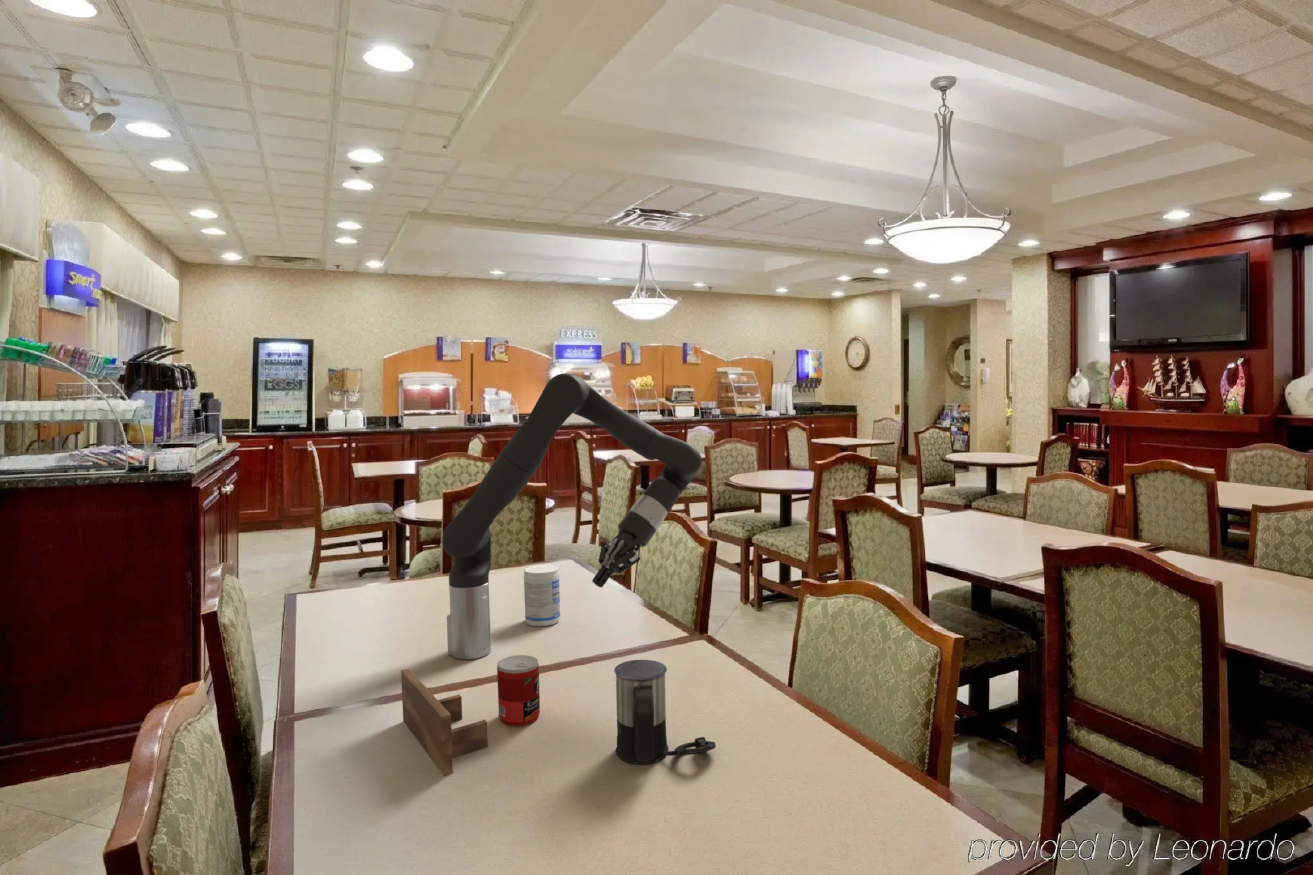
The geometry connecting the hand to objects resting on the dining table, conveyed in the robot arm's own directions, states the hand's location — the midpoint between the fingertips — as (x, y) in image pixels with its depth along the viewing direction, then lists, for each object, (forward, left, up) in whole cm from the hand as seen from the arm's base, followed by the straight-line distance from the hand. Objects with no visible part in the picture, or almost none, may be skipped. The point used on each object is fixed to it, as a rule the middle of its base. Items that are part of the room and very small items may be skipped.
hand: (596, 584), depth 150 cm
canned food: (-8, -19, -22) cm, 30 cm away
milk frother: (+23, -23, -22) cm, 39 cm away
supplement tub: (-32, +33, -22) cm, 51 cm away
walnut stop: (-16, -30, -22) cm, 41 cm away
